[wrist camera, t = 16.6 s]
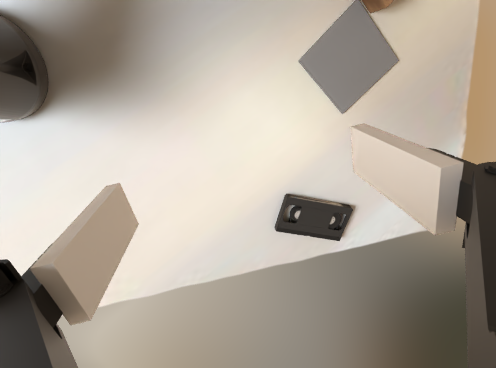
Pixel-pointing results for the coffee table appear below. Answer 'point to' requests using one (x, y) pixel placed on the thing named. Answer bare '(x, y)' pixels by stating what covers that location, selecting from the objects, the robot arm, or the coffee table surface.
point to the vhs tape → (313, 217)
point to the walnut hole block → (376, 4)
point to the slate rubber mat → (349, 57)
